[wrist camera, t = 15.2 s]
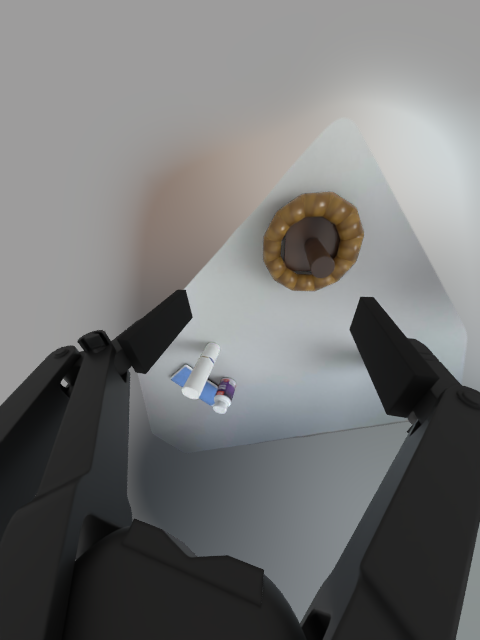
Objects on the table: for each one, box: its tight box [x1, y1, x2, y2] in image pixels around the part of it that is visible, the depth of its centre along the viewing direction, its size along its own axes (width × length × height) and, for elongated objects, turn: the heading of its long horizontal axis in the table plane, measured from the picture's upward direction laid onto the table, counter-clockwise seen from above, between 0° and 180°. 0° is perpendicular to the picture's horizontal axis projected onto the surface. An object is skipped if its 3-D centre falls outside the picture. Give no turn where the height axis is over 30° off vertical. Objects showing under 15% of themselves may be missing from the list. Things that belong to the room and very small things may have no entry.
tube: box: [182, 342, 220, 399], centre depth 46 cm, size 4×4×15 cm
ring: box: [263, 192, 364, 291], centre depth 29 cm, size 15×15×3 cm
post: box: [284, 217, 340, 278], centre depth 26 cm, size 9×9×14 cm
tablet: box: [171, 365, 218, 406], centre depth 64 cm, size 19×13×1 cm, turn 50°
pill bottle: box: [213, 378, 236, 414], centre depth 56 cm, size 5×5×10 cm
